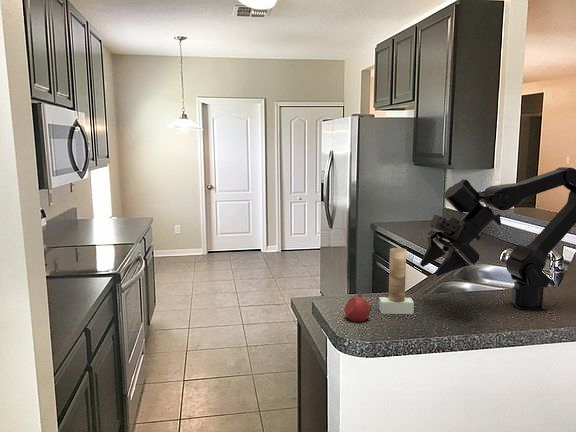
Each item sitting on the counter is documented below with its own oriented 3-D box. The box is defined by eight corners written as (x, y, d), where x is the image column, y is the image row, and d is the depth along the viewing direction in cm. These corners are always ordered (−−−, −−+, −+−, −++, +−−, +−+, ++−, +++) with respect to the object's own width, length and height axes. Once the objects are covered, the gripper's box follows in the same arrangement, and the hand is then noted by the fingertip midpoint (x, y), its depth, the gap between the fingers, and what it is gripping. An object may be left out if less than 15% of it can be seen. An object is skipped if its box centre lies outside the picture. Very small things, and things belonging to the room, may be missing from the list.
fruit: (368, 330, 117) (384, 301, 117) (348, 321, 115) (365, 291, 115) (357, 322, 123) (373, 294, 123) (339, 312, 121) (355, 284, 121)
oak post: (405, 298, 125) (407, 248, 124) (403, 303, 122) (405, 251, 120) (389, 296, 127) (391, 247, 125) (387, 301, 123) (388, 250, 121)
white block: (410, 309, 126) (410, 297, 126) (413, 314, 122) (413, 302, 122) (379, 308, 127) (379, 297, 126) (381, 313, 123) (381, 302, 122)
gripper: (435, 199, 131) (394, 241, 132) (469, 208, 113) (422, 257, 113) (461, 227, 134) (421, 268, 134) (499, 240, 115) (453, 288, 116)
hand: (428, 270), depth 124 cm, fingers open, 9 cm apart
